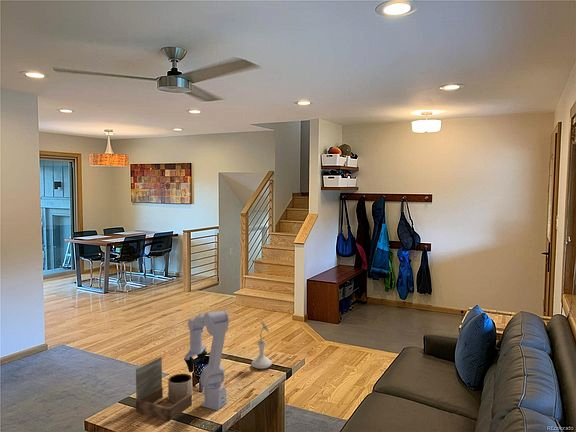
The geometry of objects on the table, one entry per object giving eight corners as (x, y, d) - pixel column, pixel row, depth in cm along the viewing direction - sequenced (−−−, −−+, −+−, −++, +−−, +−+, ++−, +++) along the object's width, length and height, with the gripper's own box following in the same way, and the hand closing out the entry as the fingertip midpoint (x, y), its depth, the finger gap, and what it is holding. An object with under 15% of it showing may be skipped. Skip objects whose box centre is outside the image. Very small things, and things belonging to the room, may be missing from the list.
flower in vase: (271, 370, 229) (271, 325, 228) (250, 370, 230) (250, 325, 228) (272, 361, 242) (272, 318, 241) (252, 361, 243) (252, 318, 241)
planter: (185, 405, 191) (185, 384, 191) (163, 402, 194) (163, 382, 193) (195, 394, 202) (195, 374, 202) (174, 391, 204) (174, 372, 204)
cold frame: (191, 405, 191) (191, 364, 190) (168, 421, 177) (168, 377, 177) (160, 396, 199) (160, 357, 198) (136, 411, 185) (135, 369, 184)
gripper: (198, 336, 216) (198, 362, 216) (179, 345, 202) (179, 372, 203) (209, 338, 212) (209, 364, 213) (191, 348, 199) (191, 375, 200)
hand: (195, 368), depth 208 cm, fingers open, 7 cm apart
